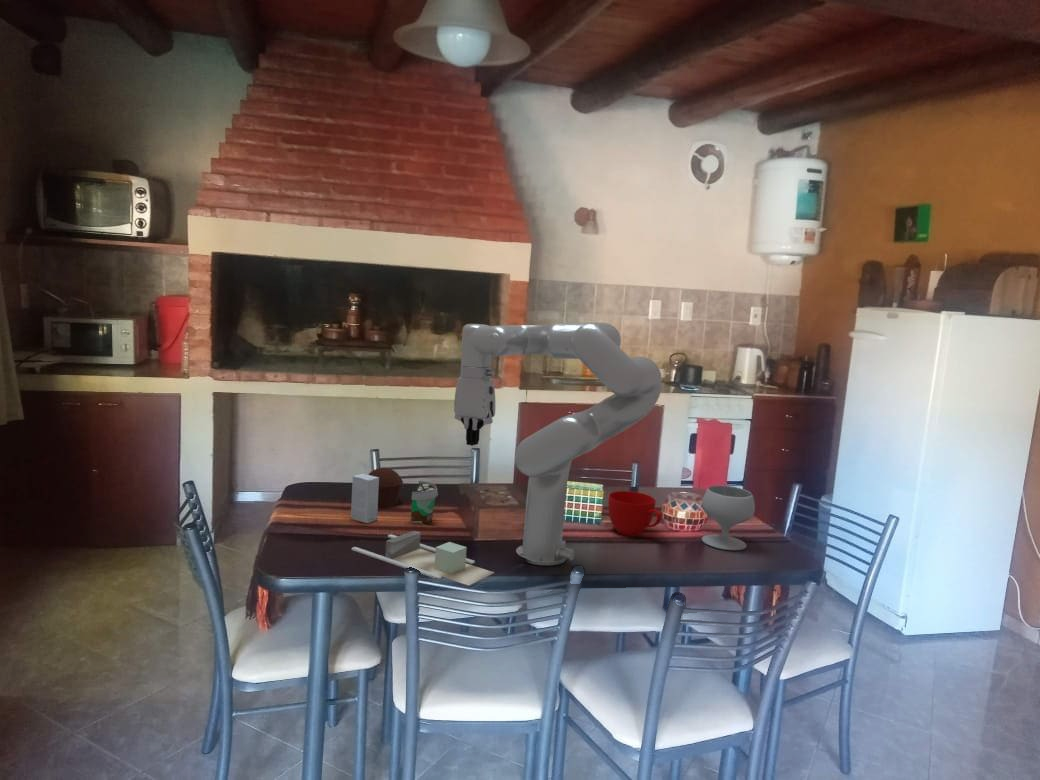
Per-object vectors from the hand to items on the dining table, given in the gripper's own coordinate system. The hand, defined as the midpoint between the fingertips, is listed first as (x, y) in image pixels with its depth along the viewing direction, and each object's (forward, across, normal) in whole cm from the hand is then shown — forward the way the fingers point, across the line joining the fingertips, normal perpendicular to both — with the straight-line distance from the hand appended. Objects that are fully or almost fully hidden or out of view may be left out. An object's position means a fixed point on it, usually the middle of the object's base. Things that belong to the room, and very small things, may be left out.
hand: (472, 444), depth 195 cm
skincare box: (+24, +30, +6) cm, 39 cm away
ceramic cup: (+26, -33, -34) cm, 54 cm away
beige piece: (+25, -7, +22) cm, 34 cm away
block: (+24, -10, +23) cm, 34 cm away
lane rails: (+25, +1, +22) cm, 33 cm away
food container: (+25, +16, -3) cm, 29 cm away
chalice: (+27, -56, -44) cm, 76 cm away
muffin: (+24, +36, -9) cm, 44 cm away
